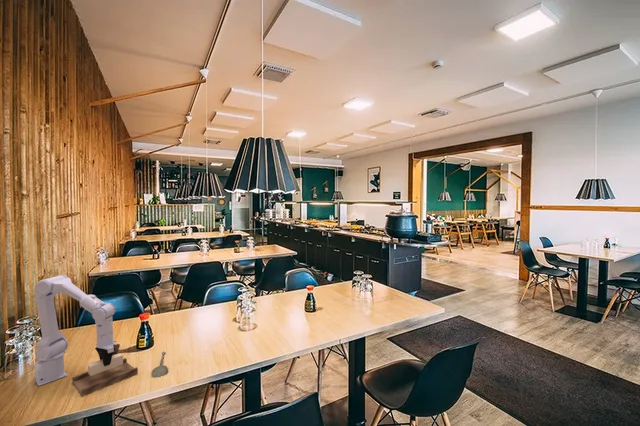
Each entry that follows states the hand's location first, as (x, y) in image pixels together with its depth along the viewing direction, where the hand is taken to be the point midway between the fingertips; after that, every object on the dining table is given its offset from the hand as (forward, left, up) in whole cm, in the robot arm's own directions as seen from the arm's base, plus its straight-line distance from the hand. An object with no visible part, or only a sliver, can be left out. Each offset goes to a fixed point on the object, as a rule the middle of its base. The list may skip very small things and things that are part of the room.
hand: (105, 363), depth 131 cm
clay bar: (0, 0, -2) cm, 2 cm away
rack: (0, 0, -6) cm, 6 cm away
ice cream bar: (+9, +24, -7) cm, 27 cm away
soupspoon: (+20, -8, -7) cm, 23 cm away
